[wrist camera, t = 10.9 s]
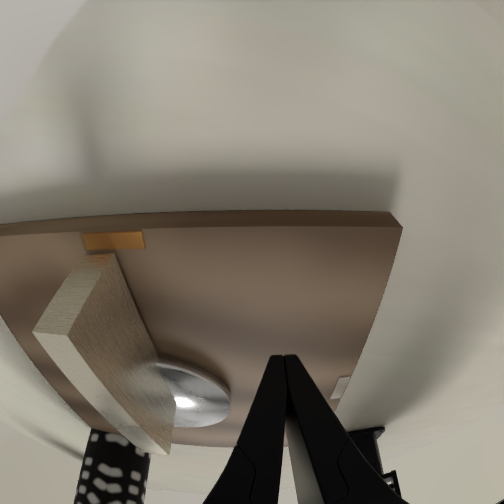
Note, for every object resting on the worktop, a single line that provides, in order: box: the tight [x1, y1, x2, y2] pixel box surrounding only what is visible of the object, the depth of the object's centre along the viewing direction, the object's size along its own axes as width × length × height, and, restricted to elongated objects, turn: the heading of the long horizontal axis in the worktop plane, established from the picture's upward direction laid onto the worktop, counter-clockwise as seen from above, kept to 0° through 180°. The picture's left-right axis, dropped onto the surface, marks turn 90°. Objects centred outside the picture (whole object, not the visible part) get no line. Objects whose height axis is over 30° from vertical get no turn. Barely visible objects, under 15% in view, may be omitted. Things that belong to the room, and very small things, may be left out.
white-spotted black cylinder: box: [74, 428, 151, 504], centre depth 21 cm, size 8×8×20 cm
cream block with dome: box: [32, 253, 231, 455], centre depth 14 cm, size 16×9×5 cm, turn 5°
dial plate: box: [0, 210, 403, 448], centre depth 19 cm, size 25×25×2 cm
